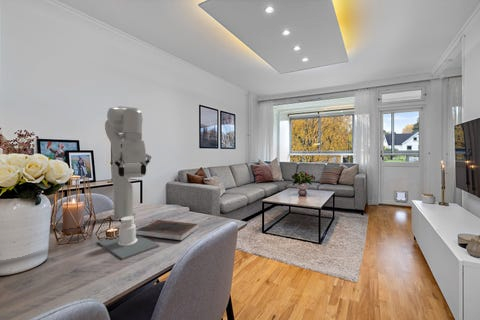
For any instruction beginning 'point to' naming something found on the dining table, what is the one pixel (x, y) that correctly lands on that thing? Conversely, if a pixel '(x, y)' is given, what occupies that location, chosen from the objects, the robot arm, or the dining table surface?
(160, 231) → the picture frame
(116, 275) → the dining table surface
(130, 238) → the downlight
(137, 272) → the dining table surface
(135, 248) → the mat
